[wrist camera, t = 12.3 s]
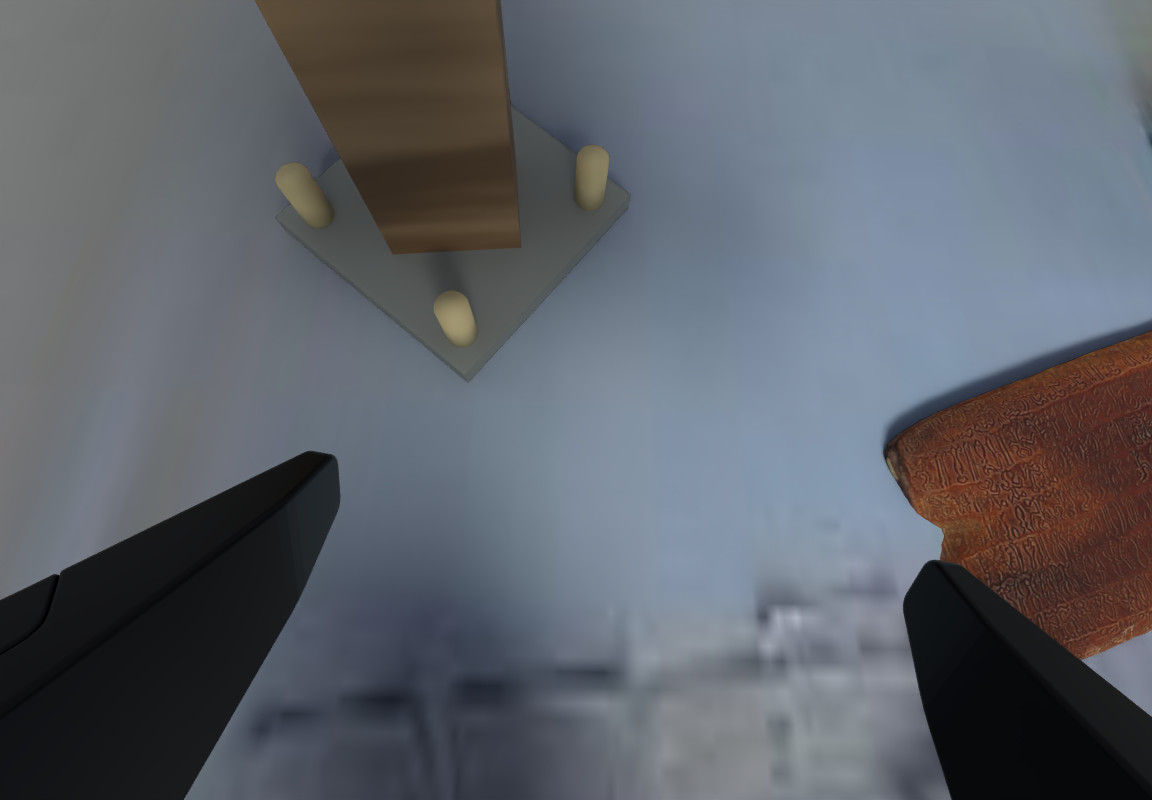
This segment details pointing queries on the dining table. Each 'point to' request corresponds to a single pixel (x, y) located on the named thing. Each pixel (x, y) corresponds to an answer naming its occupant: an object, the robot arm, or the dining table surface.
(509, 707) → the dining table surface
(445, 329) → the peg plate
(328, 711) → the dining table surface
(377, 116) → the walnut shelf block
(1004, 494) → the wooden tablet
